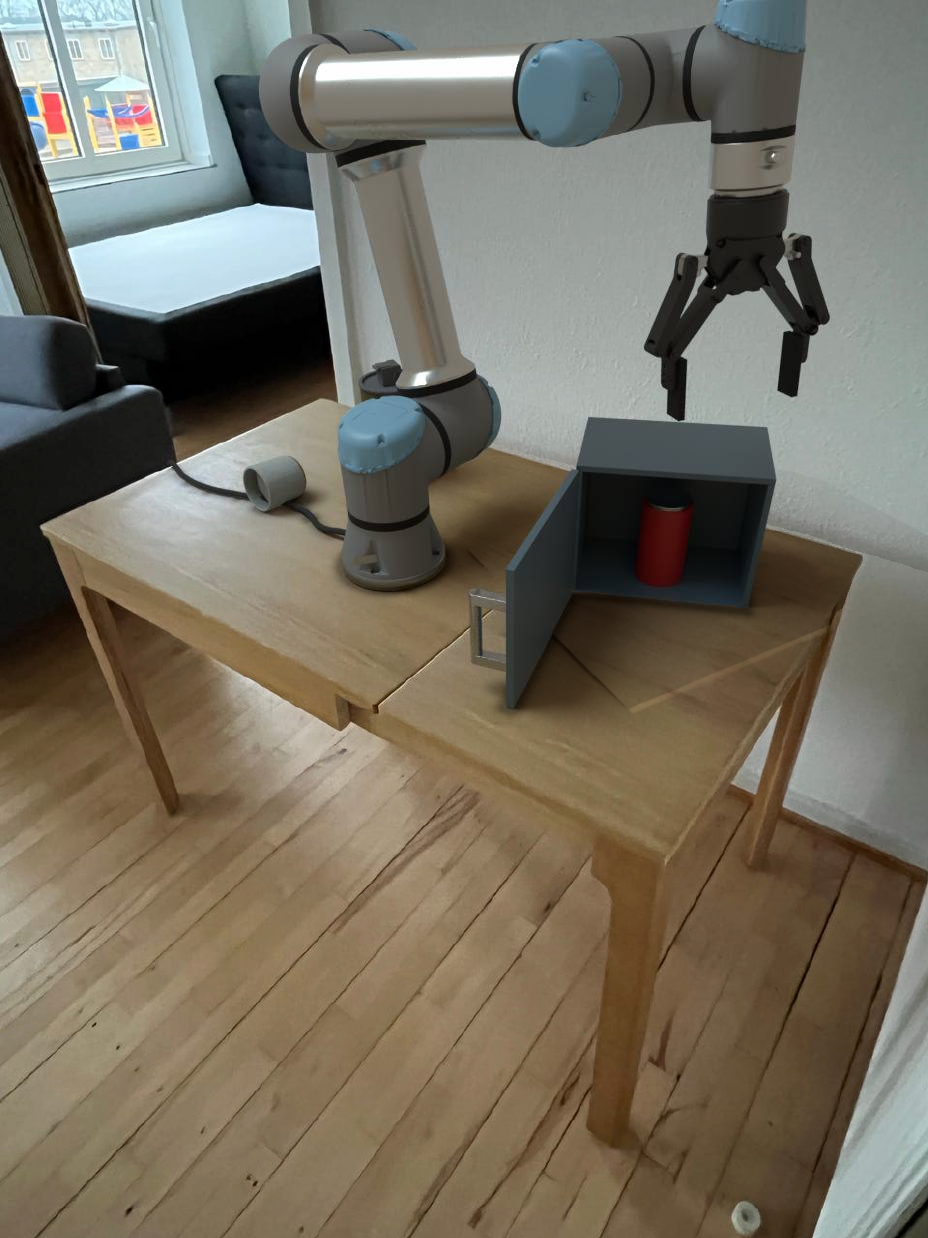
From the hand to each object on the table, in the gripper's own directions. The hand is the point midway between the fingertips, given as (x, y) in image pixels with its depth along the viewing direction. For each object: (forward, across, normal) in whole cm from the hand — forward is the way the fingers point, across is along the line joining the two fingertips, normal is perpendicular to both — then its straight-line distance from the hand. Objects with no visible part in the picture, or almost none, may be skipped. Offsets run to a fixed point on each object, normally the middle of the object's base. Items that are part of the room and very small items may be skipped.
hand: (732, 405), depth 90 cm
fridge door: (+27, -25, +4) cm, 37 cm away
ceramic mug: (+22, -52, +53) cm, 78 cm away
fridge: (+28, -2, +13) cm, 31 cm away
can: (+28, -2, +12) cm, 30 cm away
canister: (+24, -30, +55) cm, 67 cm away
